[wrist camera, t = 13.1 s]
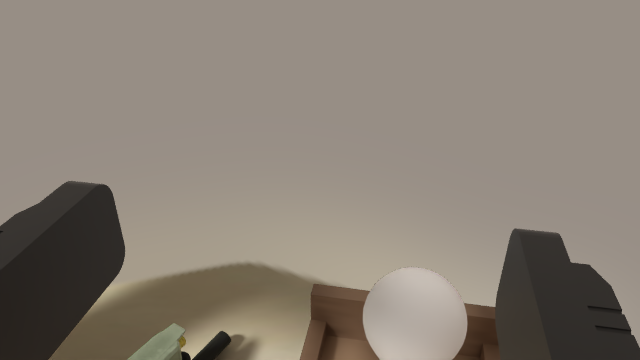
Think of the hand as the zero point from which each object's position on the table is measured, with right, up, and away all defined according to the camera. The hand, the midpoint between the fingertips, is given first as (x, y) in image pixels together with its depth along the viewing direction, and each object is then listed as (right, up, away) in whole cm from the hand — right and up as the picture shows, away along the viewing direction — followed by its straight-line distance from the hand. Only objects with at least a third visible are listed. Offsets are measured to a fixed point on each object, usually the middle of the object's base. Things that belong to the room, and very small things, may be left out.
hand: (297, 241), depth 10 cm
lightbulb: (+6, -14, +24) cm, 29 cm away
